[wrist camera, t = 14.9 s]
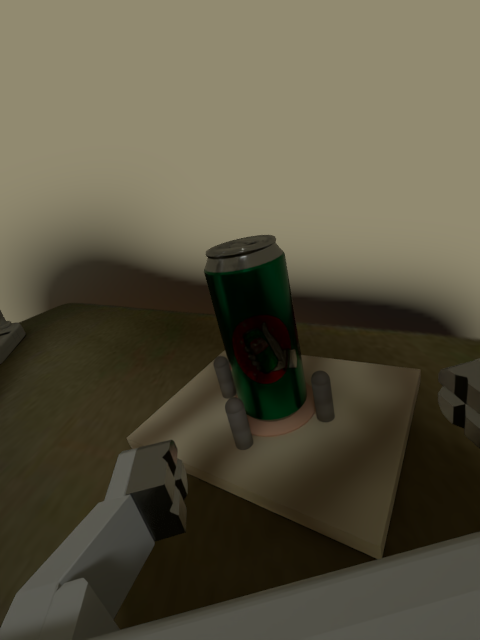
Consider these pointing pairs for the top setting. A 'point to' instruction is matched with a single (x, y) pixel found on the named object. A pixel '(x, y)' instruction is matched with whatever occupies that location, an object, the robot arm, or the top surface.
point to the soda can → (258, 325)
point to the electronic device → (9, 337)
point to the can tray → (300, 445)
